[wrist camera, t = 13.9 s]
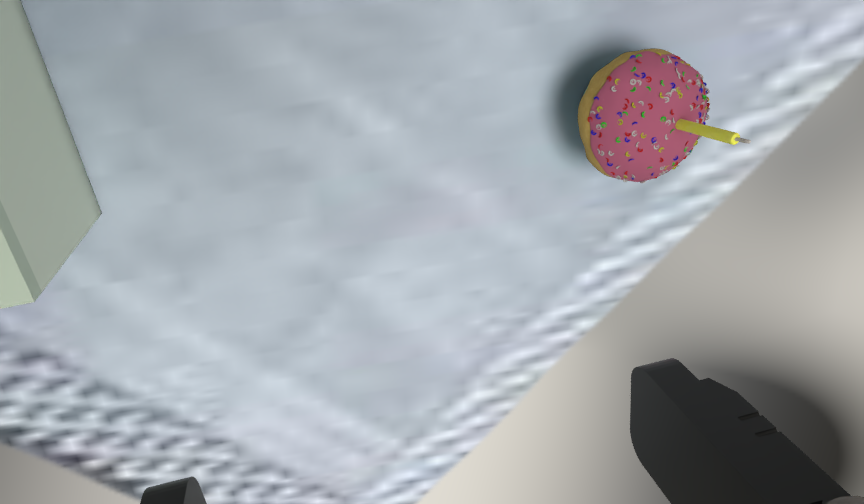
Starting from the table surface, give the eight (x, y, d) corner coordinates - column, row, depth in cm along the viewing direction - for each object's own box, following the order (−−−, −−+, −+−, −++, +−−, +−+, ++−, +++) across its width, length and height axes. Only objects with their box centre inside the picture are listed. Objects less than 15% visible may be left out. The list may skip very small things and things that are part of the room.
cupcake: (669, 36, 43) (798, 56, 32) (660, 155, 47) (773, 208, 36) (554, 49, 42) (648, 74, 31) (553, 170, 45) (637, 231, 34)
